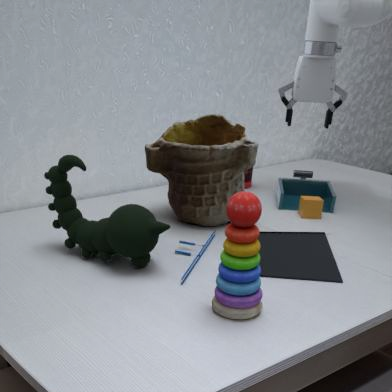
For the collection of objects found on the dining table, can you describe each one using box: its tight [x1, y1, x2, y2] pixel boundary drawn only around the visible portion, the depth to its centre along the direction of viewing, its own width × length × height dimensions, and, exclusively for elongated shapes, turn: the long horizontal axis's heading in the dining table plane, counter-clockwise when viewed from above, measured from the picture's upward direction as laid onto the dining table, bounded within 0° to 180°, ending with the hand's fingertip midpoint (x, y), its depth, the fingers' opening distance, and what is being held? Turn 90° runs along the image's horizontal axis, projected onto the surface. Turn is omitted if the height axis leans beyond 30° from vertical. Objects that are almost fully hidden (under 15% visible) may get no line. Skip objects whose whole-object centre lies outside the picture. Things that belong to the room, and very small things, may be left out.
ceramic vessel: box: [144, 113, 260, 227], centre depth 111 cm, size 23×24×25 cm
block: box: [297, 196, 324, 220], centre depth 119 cm, size 4×4×4 cm
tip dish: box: [275, 169, 337, 214], centre depth 127 cm, size 13×16×6 cm
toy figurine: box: [43, 154, 171, 269], centre depth 90 cm, size 9×19×25 cm
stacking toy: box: [211, 190, 263, 320], centre depth 75 cm, size 8×8×19 cm
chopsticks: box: [174, 229, 216, 286], centre depth 97 cm, size 1×25×5 cm
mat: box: [257, 230, 344, 283], centre depth 105 cm, size 18×34×1 cm, turn 175°
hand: (307, 126), depth 131 cm, fingers open, 9 cm apart
